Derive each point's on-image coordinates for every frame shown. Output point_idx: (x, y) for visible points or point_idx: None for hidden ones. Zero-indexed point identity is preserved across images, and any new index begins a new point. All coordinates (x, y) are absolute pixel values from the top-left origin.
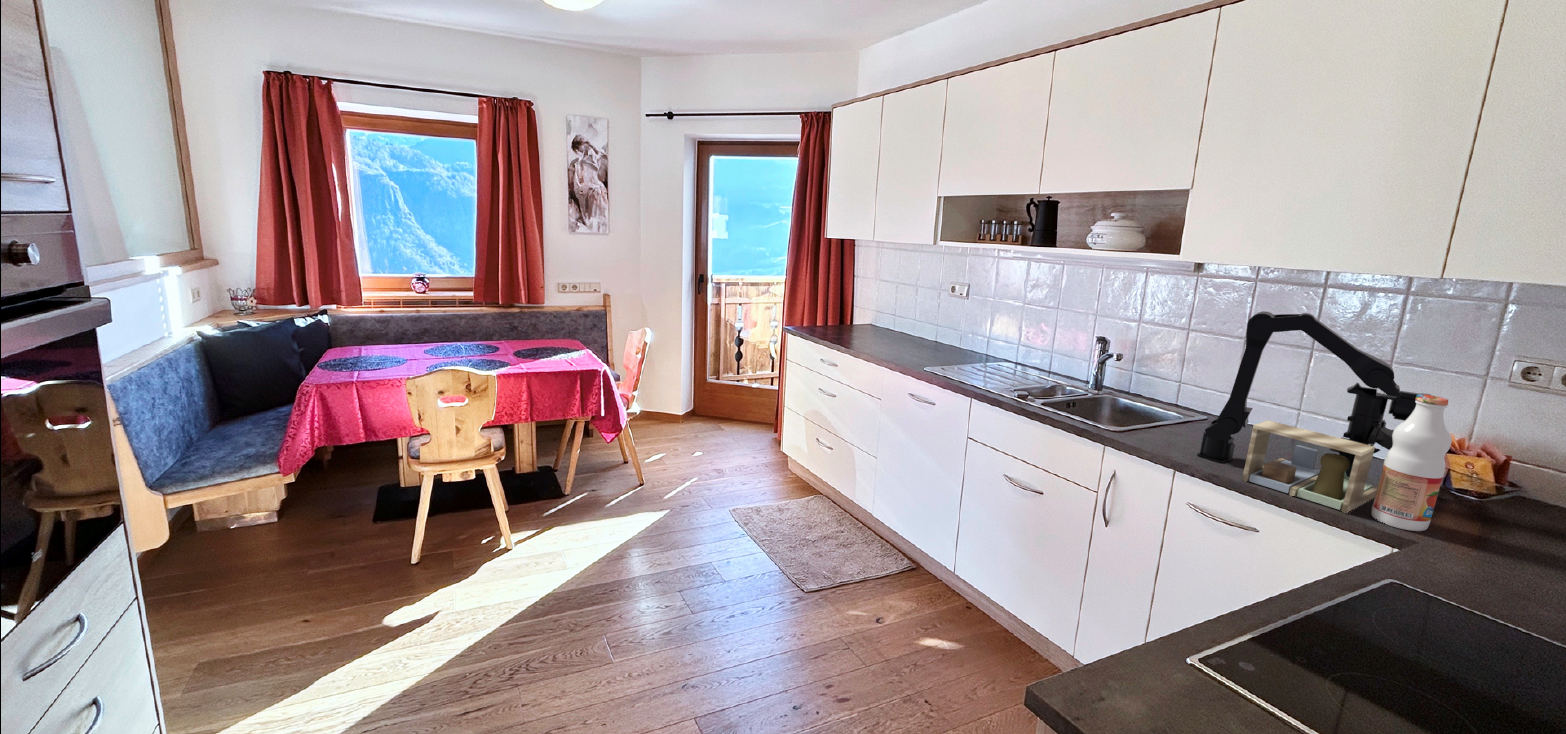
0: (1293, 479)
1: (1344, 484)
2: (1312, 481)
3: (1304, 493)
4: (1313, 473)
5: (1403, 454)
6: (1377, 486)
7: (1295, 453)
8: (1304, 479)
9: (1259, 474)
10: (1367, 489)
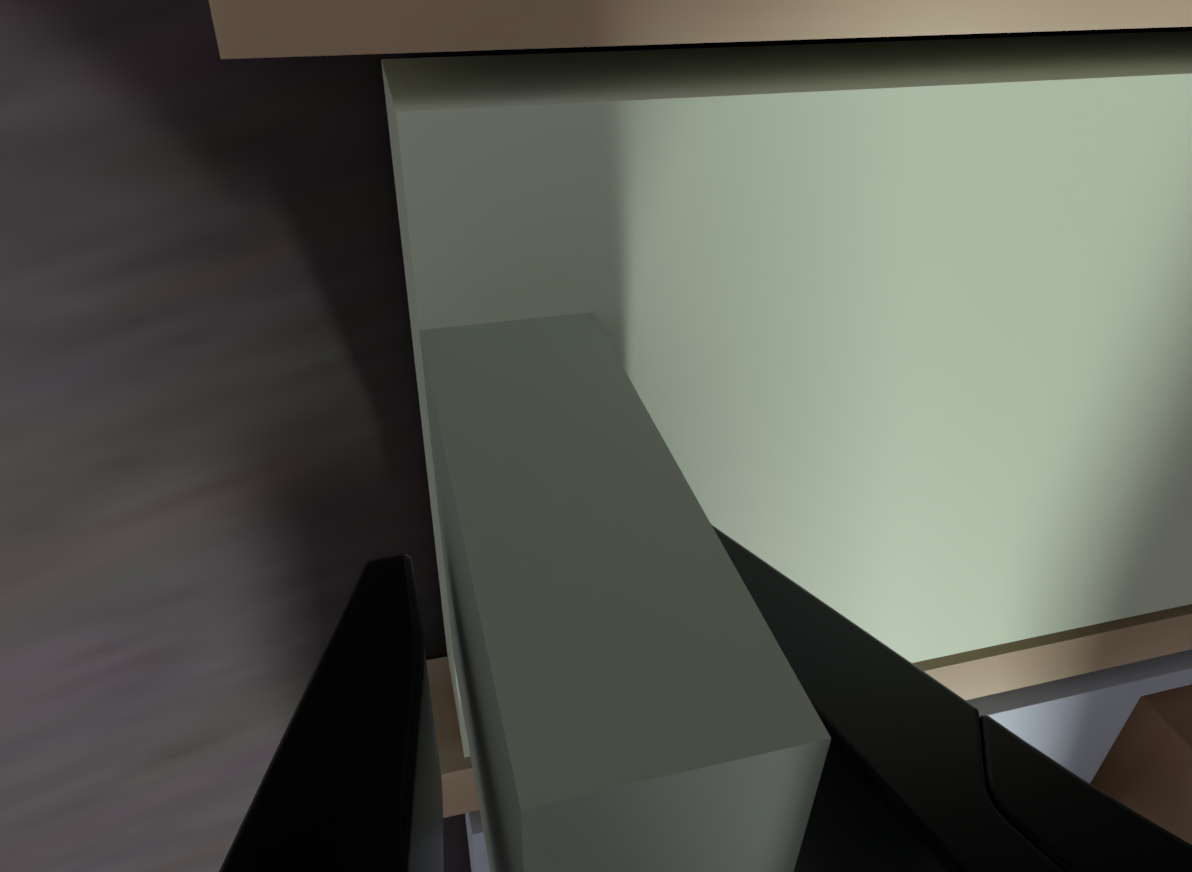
0: (1174, 707)
1: (967, 414)
2: (1121, 625)
3: None
4: None
5: None
6: (367, 4)
7: None
8: (1132, 680)
9: None
10: (821, 80)
